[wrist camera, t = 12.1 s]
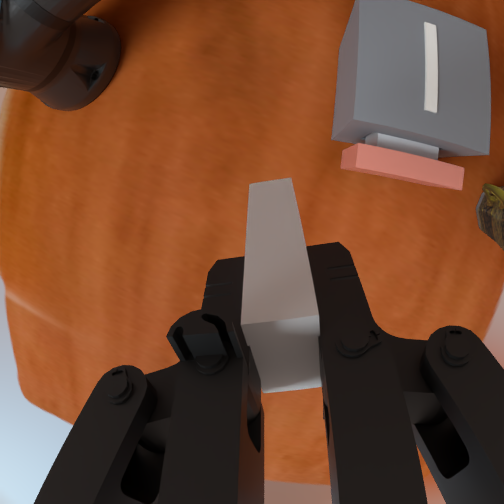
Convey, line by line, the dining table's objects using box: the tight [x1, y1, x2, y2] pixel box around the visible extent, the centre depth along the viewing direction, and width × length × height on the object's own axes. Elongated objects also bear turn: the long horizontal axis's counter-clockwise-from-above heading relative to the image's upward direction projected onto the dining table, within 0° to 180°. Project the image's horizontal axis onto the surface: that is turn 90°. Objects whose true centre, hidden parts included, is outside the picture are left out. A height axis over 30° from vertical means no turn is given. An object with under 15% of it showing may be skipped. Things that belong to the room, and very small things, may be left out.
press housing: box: [331, 0, 491, 158], centre depth 26 cm, size 12×12×15 cm
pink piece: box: [341, 132, 464, 190], centre depth 26 cm, size 14×10×9 cm
